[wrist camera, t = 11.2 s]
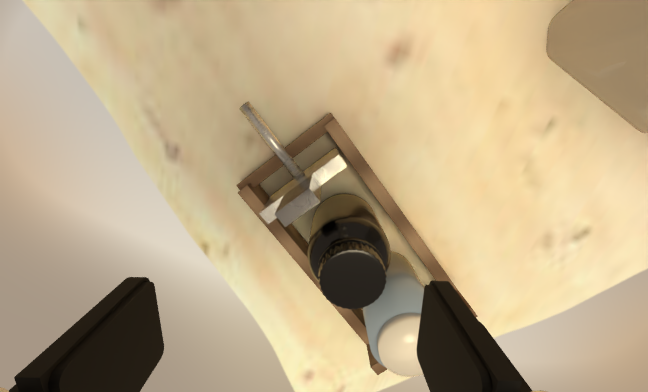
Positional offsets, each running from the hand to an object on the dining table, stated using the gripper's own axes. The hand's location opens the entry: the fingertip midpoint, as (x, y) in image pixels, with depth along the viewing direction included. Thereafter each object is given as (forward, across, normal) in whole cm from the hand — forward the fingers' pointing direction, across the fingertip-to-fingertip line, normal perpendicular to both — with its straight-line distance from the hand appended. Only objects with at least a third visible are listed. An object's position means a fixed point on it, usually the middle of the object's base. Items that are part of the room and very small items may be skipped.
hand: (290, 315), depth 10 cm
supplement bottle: (+22, -4, +5) cm, 23 cm away
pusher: (+22, +3, -3) cm, 22 cm away
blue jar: (+21, -8, +11) cm, 26 cm away
